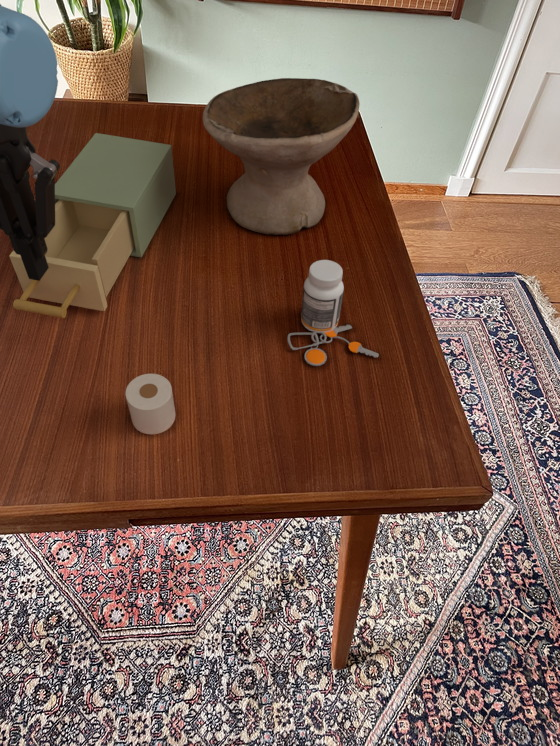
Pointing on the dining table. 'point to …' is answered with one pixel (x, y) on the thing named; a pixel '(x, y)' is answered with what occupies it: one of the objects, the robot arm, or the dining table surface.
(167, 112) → the dining table surface
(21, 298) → the drawer
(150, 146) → the cabinet
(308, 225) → the bowl
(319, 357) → the key chain
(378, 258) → the dining table surface
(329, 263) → the pill bottle
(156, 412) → the paper roll
